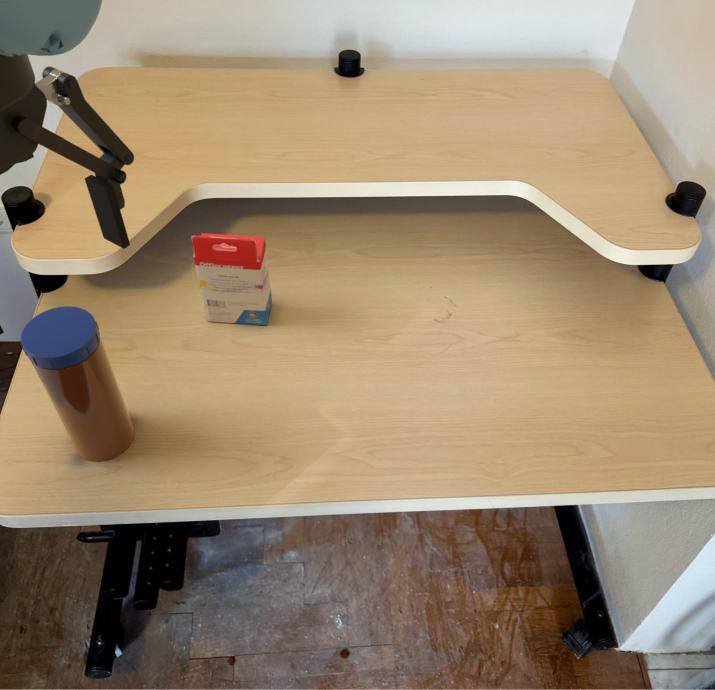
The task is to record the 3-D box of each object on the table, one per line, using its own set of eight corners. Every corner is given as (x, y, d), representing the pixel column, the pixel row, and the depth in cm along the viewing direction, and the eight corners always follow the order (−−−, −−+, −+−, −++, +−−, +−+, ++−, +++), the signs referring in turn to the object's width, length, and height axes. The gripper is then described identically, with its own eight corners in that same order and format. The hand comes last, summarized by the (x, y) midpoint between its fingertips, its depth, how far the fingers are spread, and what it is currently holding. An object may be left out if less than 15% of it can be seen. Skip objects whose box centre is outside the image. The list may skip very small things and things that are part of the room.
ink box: (272, 302, 95) (265, 217, 84) (267, 327, 91) (258, 242, 80) (213, 297, 95) (197, 212, 84) (205, 322, 91) (188, 237, 81)
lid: (50, 381, 63) (44, 369, 62) (13, 343, 66) (7, 331, 65) (114, 342, 67) (109, 330, 65) (76, 308, 70) (71, 296, 69)
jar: (95, 472, 75) (46, 371, 62) (62, 437, 78) (10, 334, 65) (146, 436, 79) (109, 334, 66) (113, 404, 82) (72, 300, 69)
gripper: (-220, 136, 34) (-45, 393, 50) (142, -12, 48) (189, 225, 64) (-291, 93, 37) (-104, 350, 53) (72, -35, 51) (133, 198, 67)
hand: (57, 282), depth 58 cm, fingers open, 13 cm apart
